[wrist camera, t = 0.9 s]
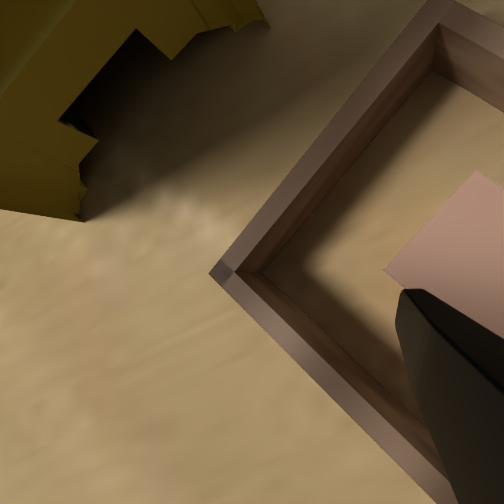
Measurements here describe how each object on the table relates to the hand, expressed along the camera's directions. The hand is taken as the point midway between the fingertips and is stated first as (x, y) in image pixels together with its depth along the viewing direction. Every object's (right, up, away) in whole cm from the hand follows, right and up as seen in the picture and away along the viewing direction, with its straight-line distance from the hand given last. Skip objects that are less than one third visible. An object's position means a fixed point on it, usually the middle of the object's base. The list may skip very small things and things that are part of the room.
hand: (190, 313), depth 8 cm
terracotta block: (+12, +1, +11) cm, 16 cm away
